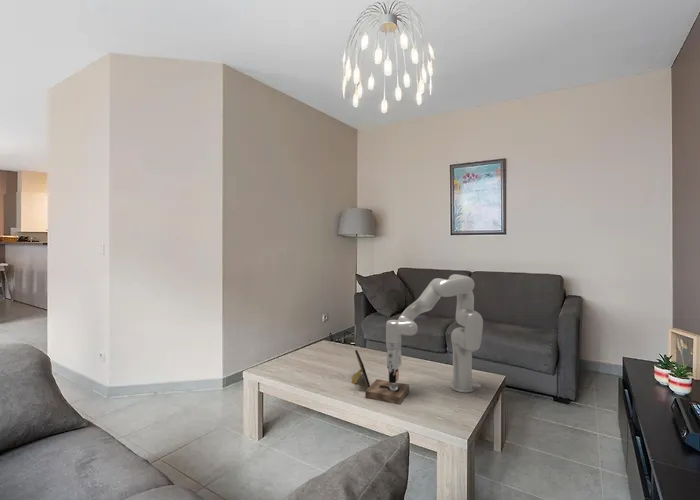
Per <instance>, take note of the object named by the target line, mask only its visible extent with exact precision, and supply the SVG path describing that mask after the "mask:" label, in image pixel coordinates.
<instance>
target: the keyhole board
mask: <svg viewBox="0 0 700 500" xmlns="http://www.w3.org/2000/svg"><path fill="white" fill-rule="evenodd" d="M390 386H392V383H390V382H389V380H384V379H380V378H379V379H378V378H376V379H375V380H374V381H373V382H372V384H370V387H369V388H368V387H367V388H366V390H365V392H364V393H365V394H364V395H365V398H366V399H371V400H375V401H379V402H384V403H390V404H395V405H396V404H397V405H401V404H402V403H403V401H404V399H406V397H407V395H408V394H409V392H410V384H408V383H402V382H398V381H397V382H396V386H398V392H396V391H390V390H389V387H390Z"/></svg>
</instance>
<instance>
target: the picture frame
mask: <svg viewBox="0 0 700 500" xmlns="http://www.w3.org/2000/svg"><path fill="white" fill-rule="evenodd" d="M354 353H355V355H356V358H357V361H358V365H359V368H360V369H359V370H358V371H357V372H356V373H355V374H354V375H353V376H352V379H351V383H352V384H353V385H356V384H357V382H358V381H359V378H360V377H361V375H362V377H363V379H364V382H365V384H366V386H367V389H368V388H369V387H370V386H371V384H370V381H369V377H368V375H367V371H366V368H365V365H364V362H363V361H362V358H361V355H360V353H359V351H358V349H356V350H354Z"/></svg>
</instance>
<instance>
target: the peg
mask: <svg viewBox="0 0 700 500" xmlns="http://www.w3.org/2000/svg"><path fill="white" fill-rule="evenodd" d="M399 370H400V369H399ZM399 370H395V375H396V382H397V383H398V380H399V379H400V378H399V377H400V376H399V375H400V371H399ZM392 371H393V370H392ZM389 390H390V391H396V392H398V386H396V383H392V386H390V387H389Z"/></svg>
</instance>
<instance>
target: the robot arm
mask: <svg viewBox="0 0 700 500" xmlns="http://www.w3.org/2000/svg"><path fill="white" fill-rule="evenodd" d="M475 285H476V284H475V281H474V280H473V278H471V277H470V276H468V275H463V274H456V273H455V274H451V275H450V276H448V279H445V278H438V277H437V278H434V279H433V278H432V280H431V281H430V282H429V283H428V285H427V286H426V288H424V290H423V291H422V293H421V294H420V296H419V297H418V298H417V299H416V300H414V301H413V302H412V303H411V304H409V305H408V306H407V307H405V309H404V310H403V312H402V313H401V314H400V315H399V317H398V319H388V320H387V321H386V323H385V348H386V349H387V351H386V368H387V372H388V381H389V382H390V383H396V375H395V370H400V369H399V368H400V367H401V366H402V364H403V363H402V336H414V335H416V334H417V333H418V330H419V328H418V327H419V326H418V325H417V323H416V322H415V321H414V320H415V319H416V318H417V317H418V316H419V315H420V314H423V313H426V312H429V311H432V309H433V308H434V307H435V305H436V304H437V303H438V301H439V300H440V299H441V297H443V298H444V297H445V298H449V297H455V296H456V309H455V322H456V323H457V324H458V325H460V326H463V327H460V326H459V327H456V328H454V329H453V330H452V332H451V335H450V339H451V340H450V341H451V345H452V381H451V382H450V384H449V387H450V389H452V390H453V391H455V392H458V393H467V394H468V393H472V392H475V390H476V388H477V389H481V387H482V384H481V383H479V382H478V381H476V382H475V381H474V378H473V354H472V353H474V352H476V351H478V350H479V348H480V347H481V344H482V339H483V337H482V336H483V329H484V328H483V327H484V319H483V317H482V315H481V313H479V312H478V311H476V310H474V309H475V307H474V306H475V296H474V292H473V290H474V288H475ZM392 370H393V371H392Z"/></svg>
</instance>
